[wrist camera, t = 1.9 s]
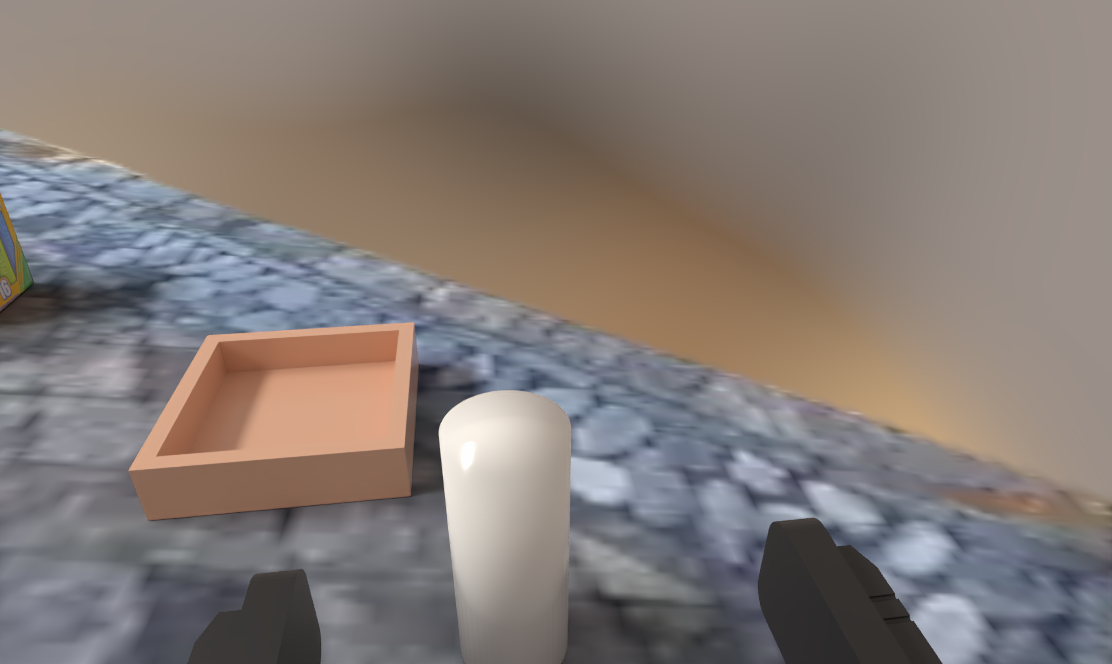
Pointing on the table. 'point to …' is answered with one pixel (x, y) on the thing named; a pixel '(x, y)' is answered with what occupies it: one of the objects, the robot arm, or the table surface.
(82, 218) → the table surface
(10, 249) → the chalk box
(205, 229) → the table surface
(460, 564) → the ceramic canister
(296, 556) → the table surface
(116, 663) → the table surface
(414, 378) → the terracotta tray
